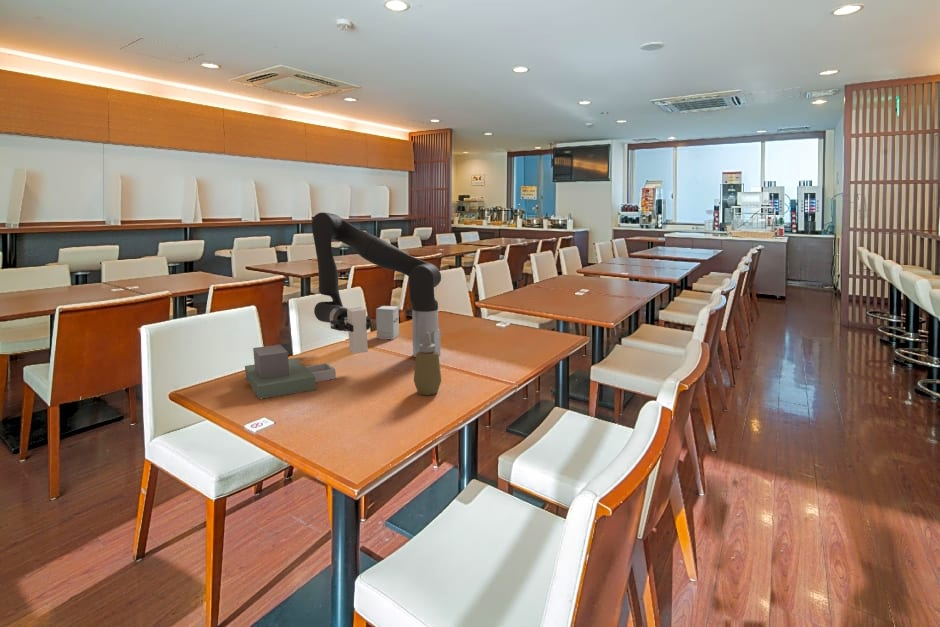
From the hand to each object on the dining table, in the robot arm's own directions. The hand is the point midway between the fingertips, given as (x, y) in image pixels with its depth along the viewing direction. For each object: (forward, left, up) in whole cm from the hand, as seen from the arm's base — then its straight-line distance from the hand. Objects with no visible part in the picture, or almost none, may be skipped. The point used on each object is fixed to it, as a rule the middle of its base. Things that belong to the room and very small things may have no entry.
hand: (360, 327), depth 169 cm
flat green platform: (+16, +14, -15) cm, 26 cm away
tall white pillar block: (+2, -2, -8) cm, 9 cm away
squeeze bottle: (-27, +10, -15) cm, 33 cm away
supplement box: (+13, -45, -15) cm, 49 cm away
